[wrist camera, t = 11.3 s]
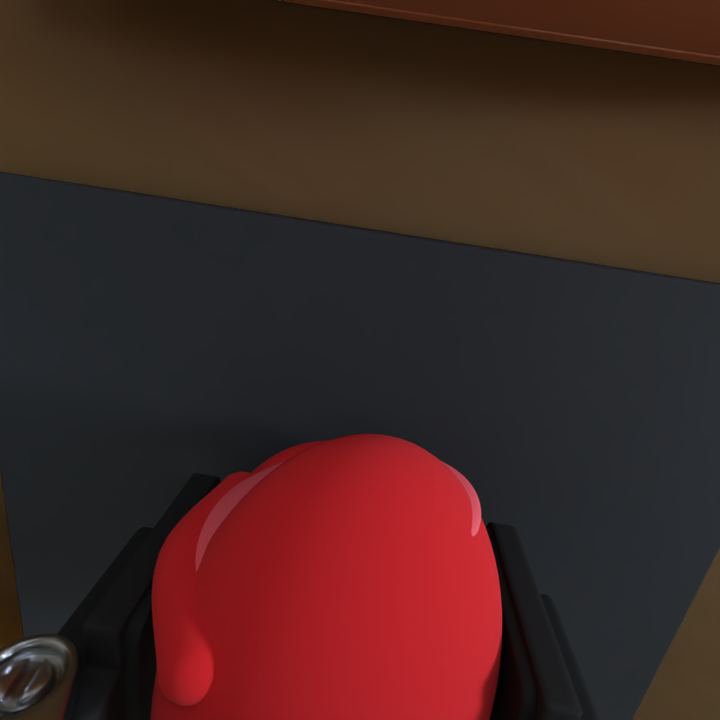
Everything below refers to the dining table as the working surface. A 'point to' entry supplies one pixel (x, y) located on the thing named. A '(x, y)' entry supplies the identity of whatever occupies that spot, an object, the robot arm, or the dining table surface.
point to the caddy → (570, 21)
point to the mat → (356, 395)
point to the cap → (330, 592)
